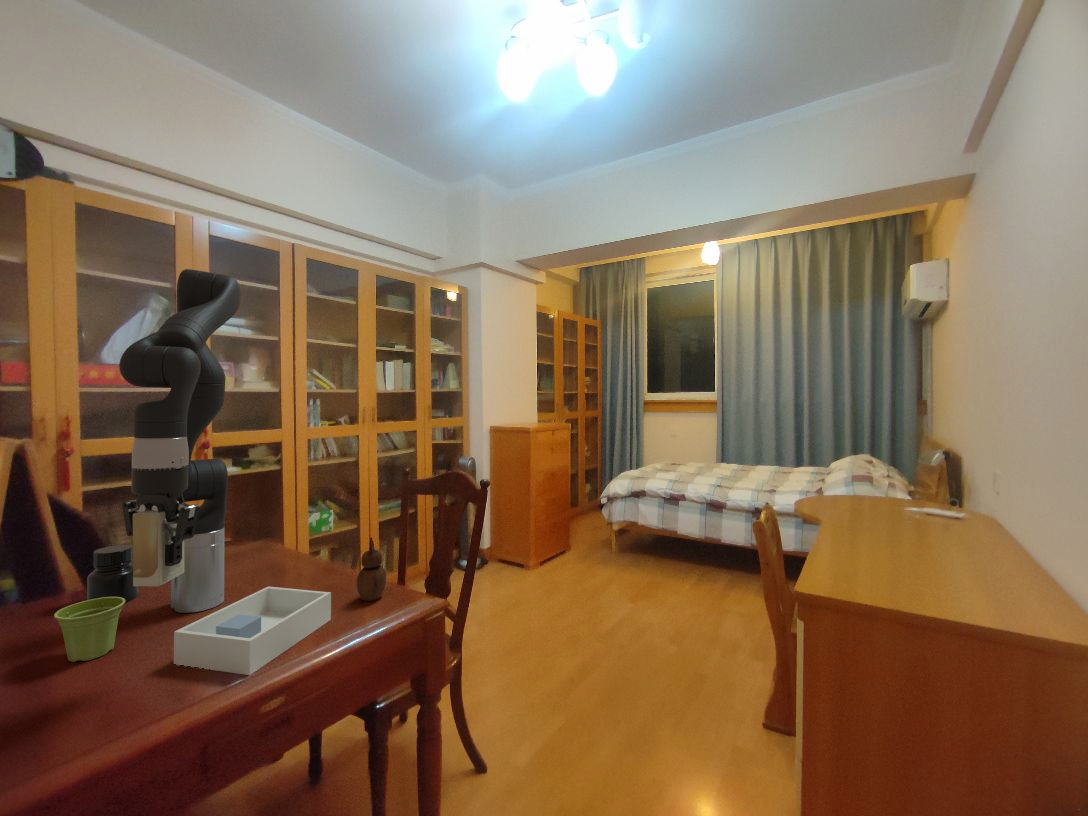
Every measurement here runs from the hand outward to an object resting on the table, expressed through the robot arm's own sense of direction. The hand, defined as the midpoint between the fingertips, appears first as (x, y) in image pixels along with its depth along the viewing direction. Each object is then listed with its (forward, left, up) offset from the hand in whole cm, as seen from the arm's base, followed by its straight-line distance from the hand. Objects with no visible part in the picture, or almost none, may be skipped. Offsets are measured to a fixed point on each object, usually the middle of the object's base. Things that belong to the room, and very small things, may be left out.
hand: (159, 562), depth 81 cm
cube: (+8, +9, -18) cm, 21 cm away
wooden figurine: (+18, +37, -19) cm, 45 cm away
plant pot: (-18, +3, -19) cm, 27 cm away
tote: (+8, +14, -19) cm, 25 cm away
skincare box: (0, 0, -3) cm, 3 cm away
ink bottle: (-40, +23, -19) cm, 50 cm away
